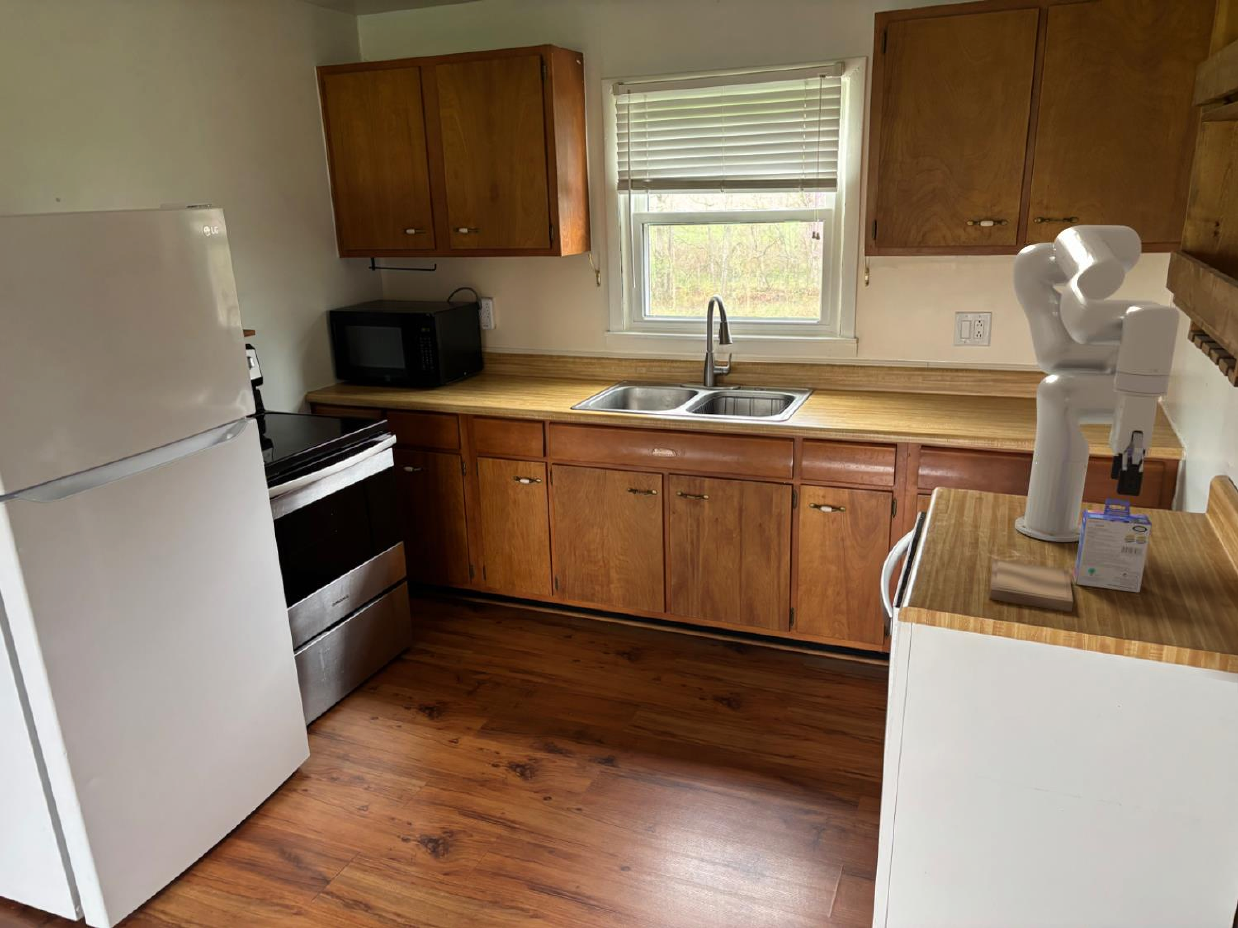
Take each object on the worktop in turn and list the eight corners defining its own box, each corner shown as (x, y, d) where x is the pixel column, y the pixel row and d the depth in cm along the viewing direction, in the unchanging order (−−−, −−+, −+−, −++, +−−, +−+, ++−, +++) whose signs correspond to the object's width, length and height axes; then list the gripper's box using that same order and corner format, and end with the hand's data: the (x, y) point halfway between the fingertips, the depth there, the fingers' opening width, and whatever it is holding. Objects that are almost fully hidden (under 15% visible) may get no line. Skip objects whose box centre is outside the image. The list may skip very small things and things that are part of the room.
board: (991, 568, 157) (993, 558, 157) (1067, 579, 153) (1068, 569, 152) (989, 598, 145) (991, 588, 144) (1071, 612, 140) (1073, 601, 140)
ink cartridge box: (1135, 581, 152) (1150, 501, 148) (1141, 594, 147) (1157, 511, 143) (1071, 573, 156) (1084, 494, 151) (1075, 585, 151) (1088, 504, 146)
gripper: (1109, 374, 151) (1094, 472, 155) (1119, 390, 135) (1103, 498, 140) (1159, 377, 148) (1143, 476, 152) (1176, 394, 133) (1158, 504, 137)
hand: (1124, 487), depth 146 cm, fingers open, 9 cm apart
